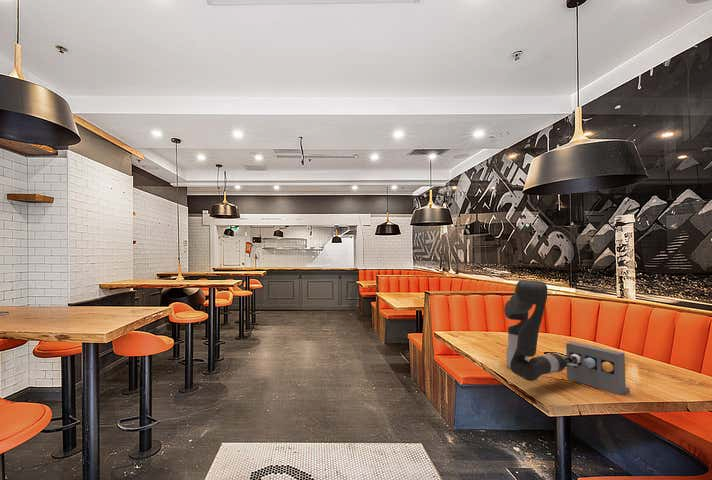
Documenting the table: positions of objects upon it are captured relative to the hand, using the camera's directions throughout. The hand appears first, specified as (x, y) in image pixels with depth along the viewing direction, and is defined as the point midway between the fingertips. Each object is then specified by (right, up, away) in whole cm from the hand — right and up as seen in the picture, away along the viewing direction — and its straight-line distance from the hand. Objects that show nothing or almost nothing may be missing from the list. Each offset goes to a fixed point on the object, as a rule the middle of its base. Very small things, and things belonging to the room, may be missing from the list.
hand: (574, 358), depth 154 cm
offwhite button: (+1, -2, +1) cm, 2 cm away
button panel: (+7, -10, -4) cm, 13 cm away
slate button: (+3, -2, -6) cm, 7 cm away
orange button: (+7, -1, -11) cm, 13 cm away
